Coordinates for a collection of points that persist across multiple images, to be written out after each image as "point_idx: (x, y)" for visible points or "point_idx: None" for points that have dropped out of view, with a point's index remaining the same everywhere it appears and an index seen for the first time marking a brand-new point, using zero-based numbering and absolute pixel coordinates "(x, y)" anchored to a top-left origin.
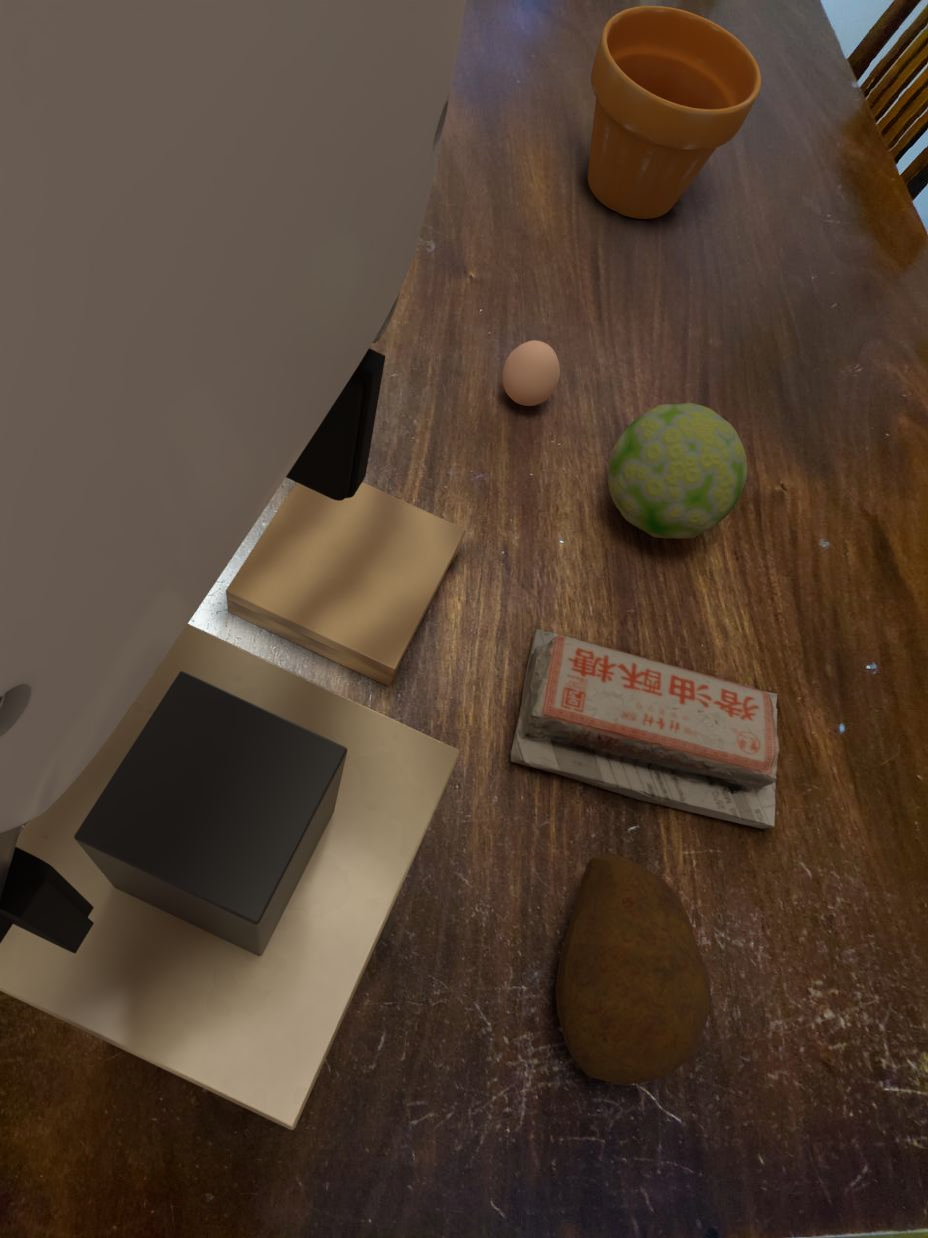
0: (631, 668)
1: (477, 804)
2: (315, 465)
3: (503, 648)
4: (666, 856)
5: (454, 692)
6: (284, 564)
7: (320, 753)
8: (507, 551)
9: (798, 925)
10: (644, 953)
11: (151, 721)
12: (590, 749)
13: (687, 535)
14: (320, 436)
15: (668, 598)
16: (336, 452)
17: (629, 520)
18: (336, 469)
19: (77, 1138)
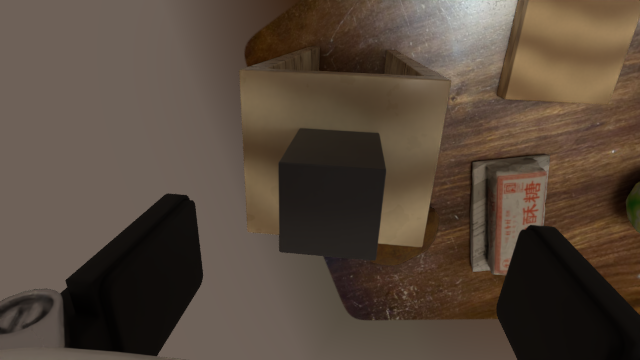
0: (534, 209)
1: (447, 153)
2: (512, 314)
3: (534, 141)
4: (448, 231)
5: (502, 126)
6: (558, 13)
7: (367, 250)
8: (599, 125)
9: (435, 280)
10: (399, 245)
11: (351, 169)
12: (487, 195)
13: (629, 219)
14: (527, 347)
15: (585, 210)
16: (518, 350)
17: (635, 187)
18: (510, 333)
19: (271, 53)
